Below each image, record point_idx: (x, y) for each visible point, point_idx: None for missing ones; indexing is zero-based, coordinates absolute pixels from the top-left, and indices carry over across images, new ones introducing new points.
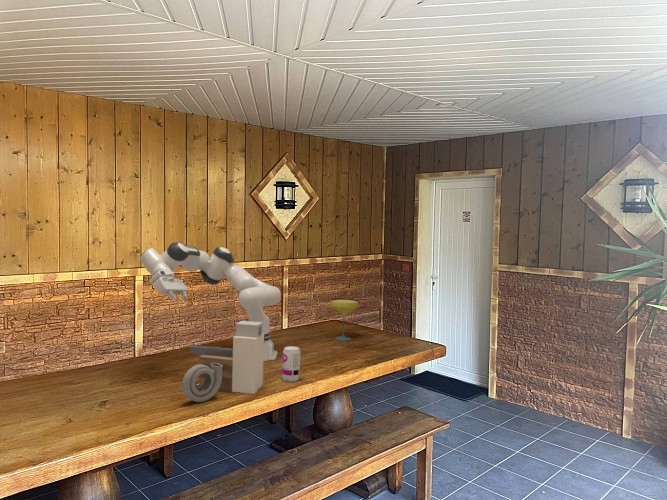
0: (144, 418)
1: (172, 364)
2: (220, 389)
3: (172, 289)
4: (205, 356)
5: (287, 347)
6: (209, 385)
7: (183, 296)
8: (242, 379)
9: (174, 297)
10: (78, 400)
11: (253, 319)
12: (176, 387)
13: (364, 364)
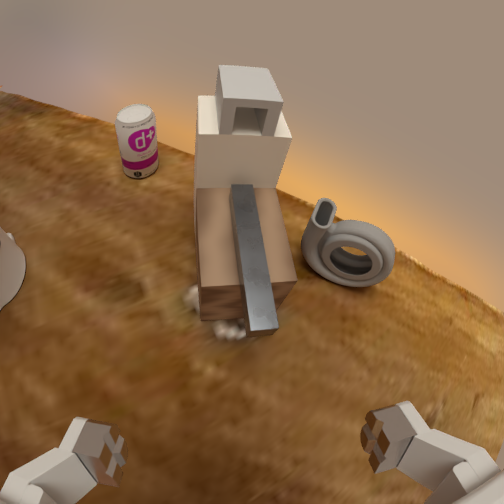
0: (431, 312)
1: (107, 488)
2: None
3: (458, 501)
4: (280, 266)
5: (125, 121)
6: (319, 251)
7: (80, 482)
8: None
9: (415, 415)
10: None
11: None
12: (289, 370)
13: (51, 112)
